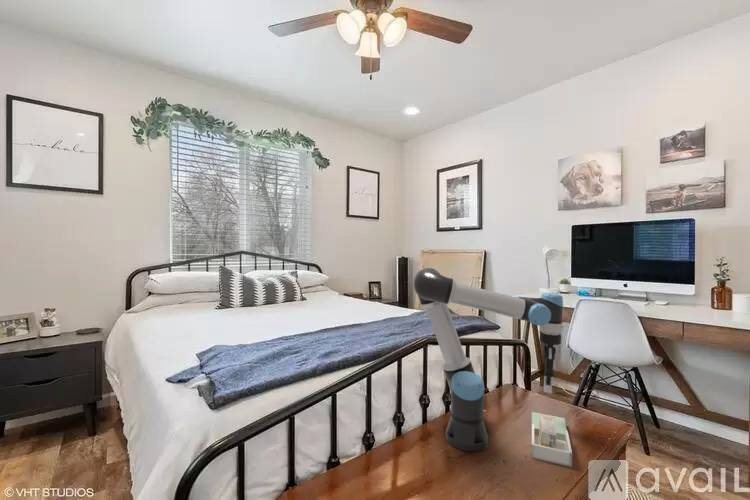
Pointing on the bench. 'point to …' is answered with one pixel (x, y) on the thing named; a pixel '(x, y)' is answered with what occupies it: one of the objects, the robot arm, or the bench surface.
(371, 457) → the bench surface
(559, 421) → the board
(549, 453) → the tray
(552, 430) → the supplement box
